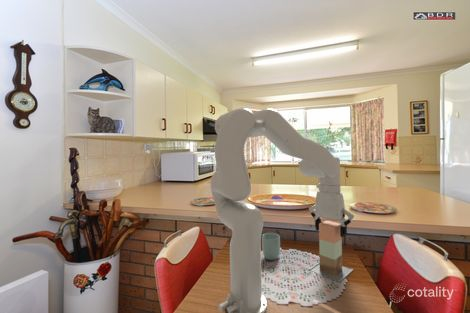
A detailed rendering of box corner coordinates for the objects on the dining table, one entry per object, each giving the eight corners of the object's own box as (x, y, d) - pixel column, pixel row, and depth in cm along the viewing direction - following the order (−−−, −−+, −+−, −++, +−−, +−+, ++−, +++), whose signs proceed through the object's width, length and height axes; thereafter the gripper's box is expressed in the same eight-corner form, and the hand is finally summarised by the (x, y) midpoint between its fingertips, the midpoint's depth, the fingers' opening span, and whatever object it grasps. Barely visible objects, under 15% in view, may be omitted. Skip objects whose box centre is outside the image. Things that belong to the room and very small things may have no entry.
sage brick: (334, 259, 82) (334, 243, 81) (319, 254, 86) (319, 239, 86) (341, 254, 86) (341, 239, 85) (326, 249, 90) (326, 235, 90)
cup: (280, 263, 93) (279, 239, 93) (261, 261, 95) (261, 238, 95) (280, 254, 101) (279, 233, 101) (263, 253, 103) (262, 232, 102)
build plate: (339, 284, 77) (339, 281, 77) (308, 271, 86) (308, 268, 86) (353, 272, 85) (353, 269, 85) (323, 261, 94) (323, 258, 94)
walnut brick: (335, 275, 82) (334, 259, 82) (319, 269, 86) (319, 254, 86) (342, 269, 86) (341, 254, 86) (327, 264, 90) (326, 249, 90)
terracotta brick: (334, 243, 81) (334, 227, 81) (319, 239, 86) (318, 223, 86) (341, 239, 85) (341, 223, 85) (326, 235, 90) (326, 220, 90)
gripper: (304, 187, 89) (305, 229, 90) (349, 192, 76) (349, 242, 77) (313, 185, 94) (314, 225, 95) (357, 190, 81) (358, 236, 82)
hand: (330, 232), depth 86 cm, fingers open, 9 cm apart
